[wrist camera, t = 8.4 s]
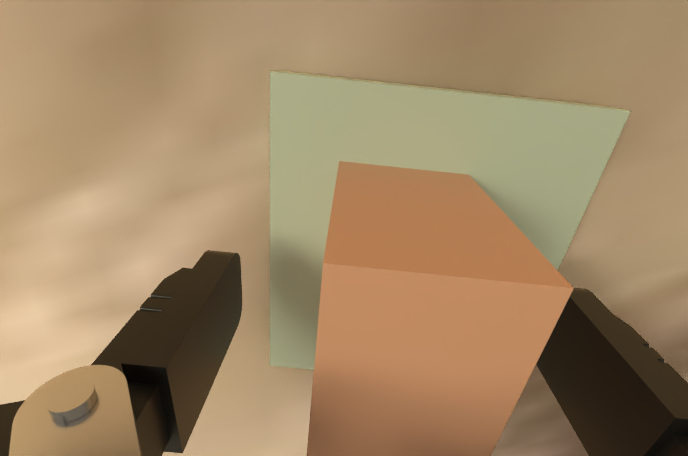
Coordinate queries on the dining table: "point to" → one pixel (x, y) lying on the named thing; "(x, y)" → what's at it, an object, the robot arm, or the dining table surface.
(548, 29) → the dining table surface
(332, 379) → the green plate orange block
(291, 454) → the dining table surface
